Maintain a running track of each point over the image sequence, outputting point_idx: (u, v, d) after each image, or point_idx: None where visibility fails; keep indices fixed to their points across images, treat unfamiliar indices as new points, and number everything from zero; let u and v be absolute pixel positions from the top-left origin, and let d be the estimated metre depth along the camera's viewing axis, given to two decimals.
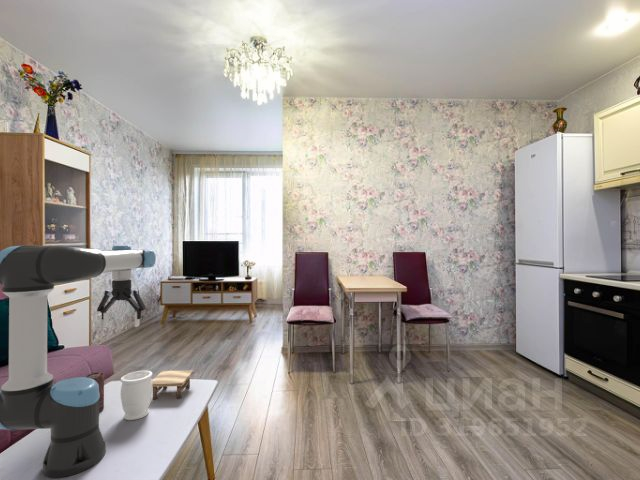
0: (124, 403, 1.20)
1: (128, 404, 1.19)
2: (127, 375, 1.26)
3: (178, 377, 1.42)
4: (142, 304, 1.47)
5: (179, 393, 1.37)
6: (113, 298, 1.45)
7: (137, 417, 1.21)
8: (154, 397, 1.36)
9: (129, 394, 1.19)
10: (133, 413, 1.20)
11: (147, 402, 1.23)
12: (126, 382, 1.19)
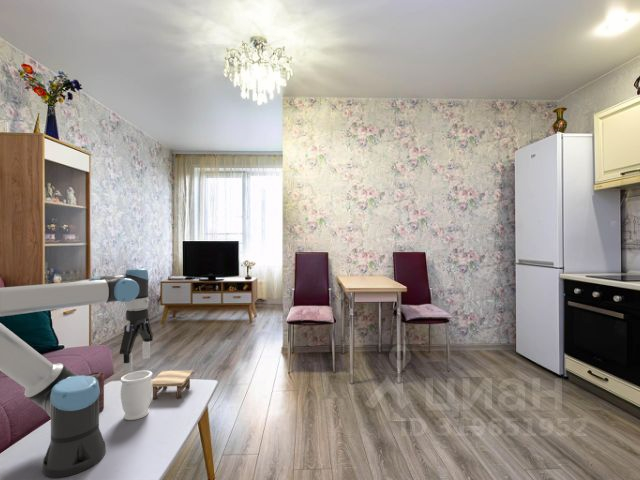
0: (124, 403, 1.20)
1: (128, 404, 1.19)
2: (127, 375, 1.26)
3: (178, 377, 1.42)
4: (124, 346, 1.15)
5: (179, 393, 1.37)
6: None
7: (137, 417, 1.21)
8: (154, 397, 1.36)
9: (129, 394, 1.19)
10: (133, 413, 1.20)
11: (147, 402, 1.23)
12: (126, 382, 1.19)
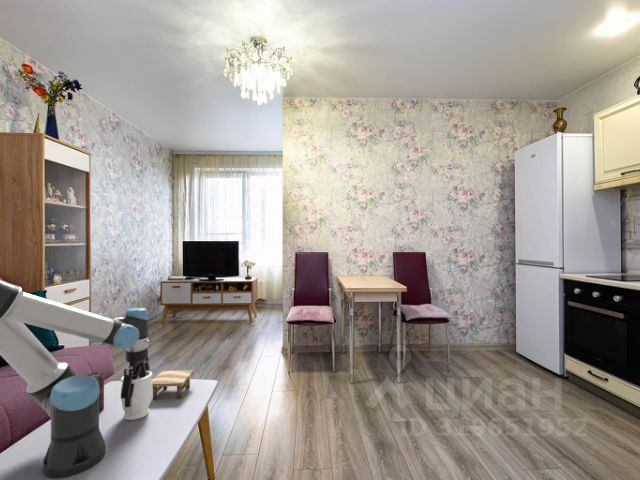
0: (124, 403, 1.20)
1: None
2: None
3: (178, 377, 1.42)
4: (124, 390, 1.16)
5: (179, 393, 1.37)
6: None
7: (137, 417, 1.21)
8: (154, 397, 1.36)
9: None
10: (133, 413, 1.20)
11: (147, 402, 1.23)
12: None
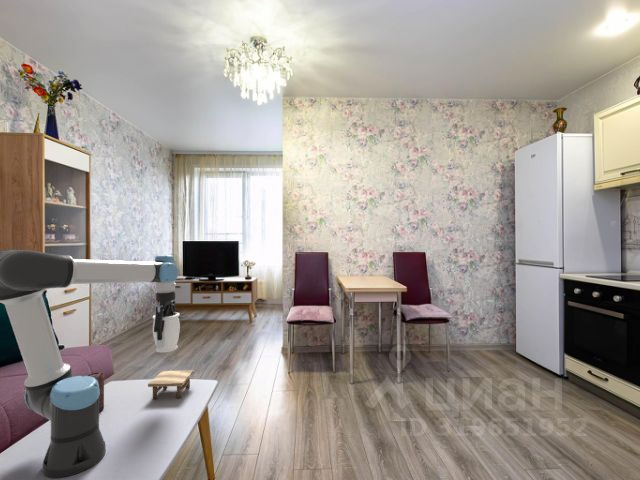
0: (156, 337, 1.35)
1: None
2: None
3: (178, 377, 1.42)
4: (157, 325, 1.31)
5: (179, 393, 1.37)
6: None
7: (168, 350, 1.36)
8: (154, 397, 1.36)
9: None
10: None
11: (176, 338, 1.38)
12: None
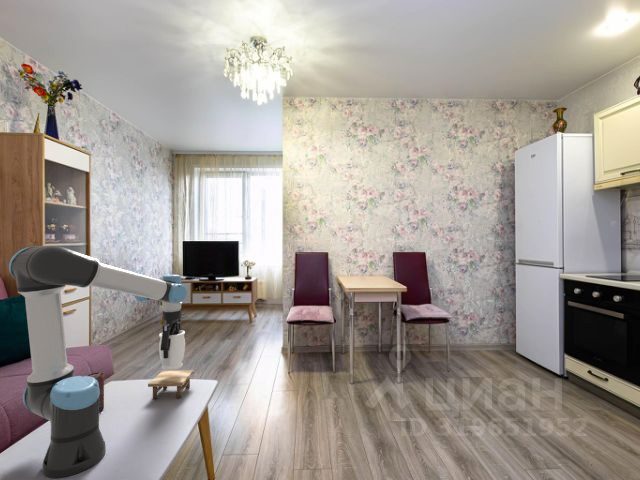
0: (162, 355, 1.38)
1: None
2: None
3: (178, 377, 1.42)
4: (163, 343, 1.34)
5: (179, 393, 1.37)
6: None
7: (173, 368, 1.39)
8: (154, 397, 1.36)
9: None
10: (170, 364, 1.39)
11: (181, 356, 1.42)
12: None
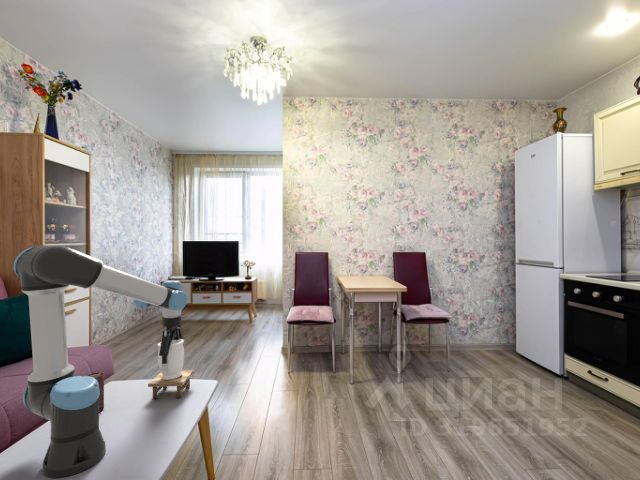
0: (161, 365, 1.38)
1: None
2: None
3: (178, 377, 1.42)
4: (162, 349, 1.33)
5: (179, 393, 1.37)
6: None
7: (173, 377, 1.39)
8: (154, 397, 1.36)
9: None
10: (169, 374, 1.39)
11: (181, 364, 1.41)
12: None
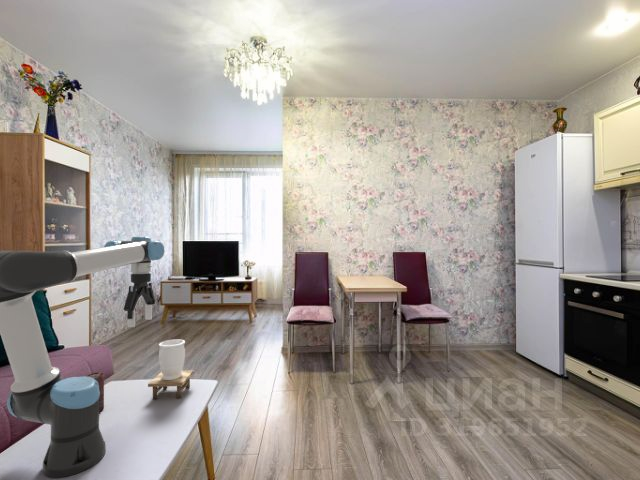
0: (162, 365, 1.38)
1: (166, 366, 1.37)
2: (163, 342, 1.44)
3: None
4: (127, 303, 1.29)
5: (179, 393, 1.37)
6: None
7: (173, 378, 1.39)
8: (154, 397, 1.36)
9: (167, 357, 1.37)
10: (170, 374, 1.38)
11: (181, 365, 1.41)
12: (164, 347, 1.37)
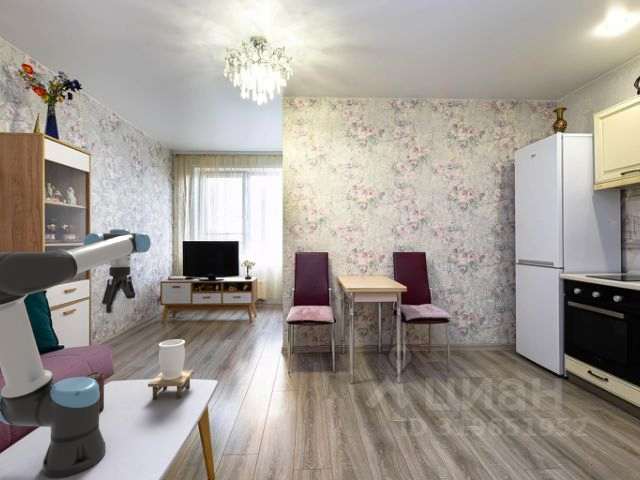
0: (162, 365, 1.38)
1: (166, 366, 1.37)
2: (163, 342, 1.44)
3: None
4: (106, 296, 1.27)
5: (179, 393, 1.37)
6: None
7: (173, 378, 1.39)
8: (154, 397, 1.36)
9: (167, 357, 1.37)
10: (170, 374, 1.38)
11: (181, 365, 1.41)
12: (164, 347, 1.37)
